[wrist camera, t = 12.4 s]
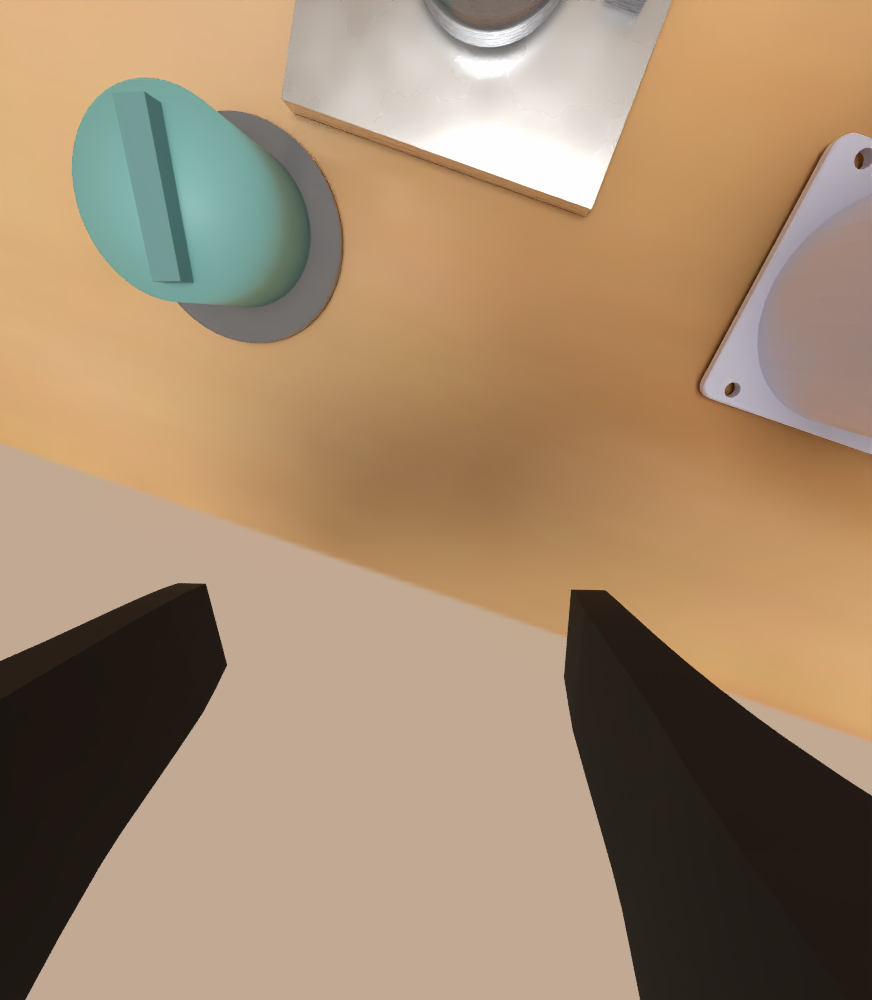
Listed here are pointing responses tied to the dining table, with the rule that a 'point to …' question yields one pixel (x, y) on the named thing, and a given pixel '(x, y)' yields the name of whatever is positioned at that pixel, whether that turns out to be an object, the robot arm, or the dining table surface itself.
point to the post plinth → (479, 83)
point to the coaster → (322, 258)
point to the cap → (186, 199)
